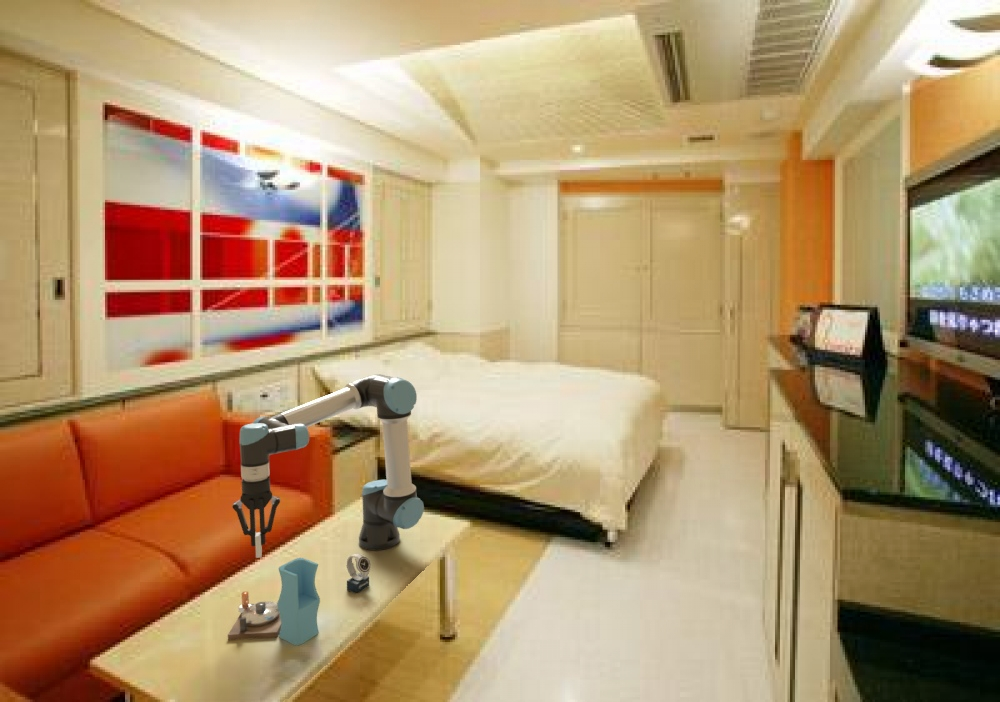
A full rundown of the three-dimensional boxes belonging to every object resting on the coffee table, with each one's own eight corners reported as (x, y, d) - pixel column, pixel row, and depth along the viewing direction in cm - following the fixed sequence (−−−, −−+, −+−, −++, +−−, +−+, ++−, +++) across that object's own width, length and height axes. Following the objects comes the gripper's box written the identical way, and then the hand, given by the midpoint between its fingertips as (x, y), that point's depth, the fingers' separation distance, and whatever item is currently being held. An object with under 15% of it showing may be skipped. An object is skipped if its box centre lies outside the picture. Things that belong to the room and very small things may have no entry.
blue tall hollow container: (297, 646, 152) (294, 576, 150) (278, 637, 156) (275, 568, 154) (321, 631, 159) (318, 563, 156) (302, 622, 163) (299, 556, 161)
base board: (246, 608, 170) (246, 593, 169) (291, 606, 171) (290, 590, 170) (228, 639, 155) (227, 622, 154) (277, 637, 156) (276, 620, 156)
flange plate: (287, 611, 165) (286, 593, 165) (260, 629, 156) (259, 611, 155) (255, 601, 170) (254, 583, 170) (227, 618, 161) (226, 600, 161)
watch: (361, 595, 177) (360, 562, 176) (343, 588, 181) (342, 555, 180) (374, 587, 182) (373, 554, 181) (355, 580, 186) (354, 548, 185)
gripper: (229, 484, 158) (233, 565, 161) (279, 479, 162) (282, 557, 165) (231, 476, 165) (235, 553, 168) (280, 471, 169) (282, 546, 172)
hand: (258, 555), depth 166 cm, fingers closed
